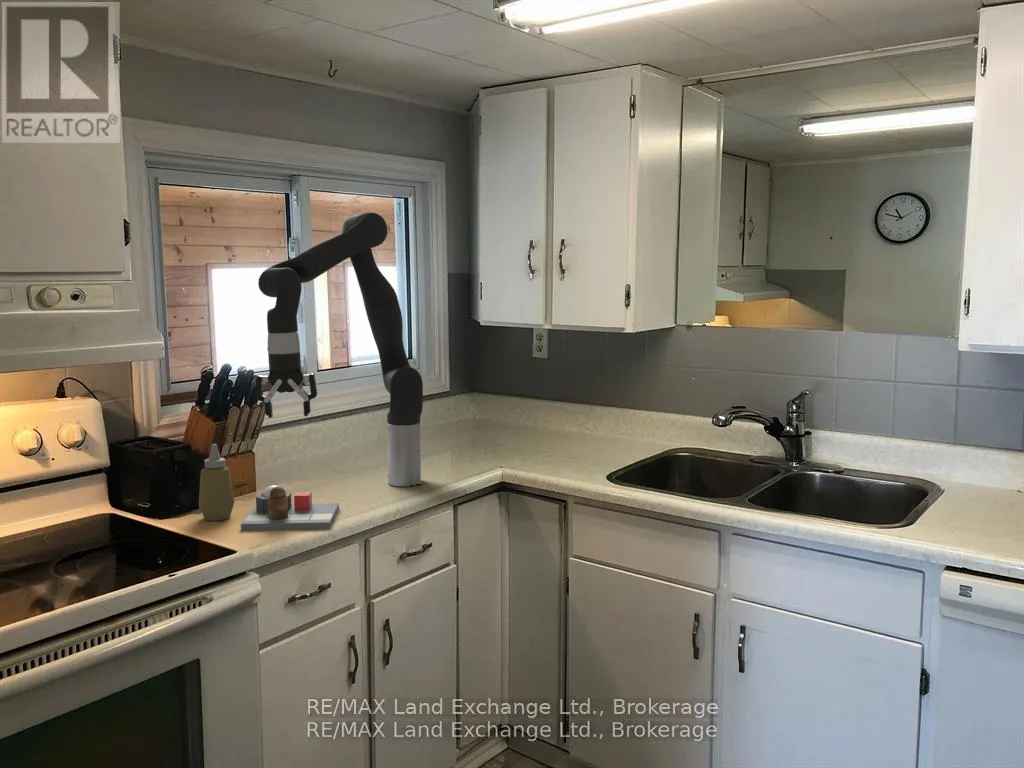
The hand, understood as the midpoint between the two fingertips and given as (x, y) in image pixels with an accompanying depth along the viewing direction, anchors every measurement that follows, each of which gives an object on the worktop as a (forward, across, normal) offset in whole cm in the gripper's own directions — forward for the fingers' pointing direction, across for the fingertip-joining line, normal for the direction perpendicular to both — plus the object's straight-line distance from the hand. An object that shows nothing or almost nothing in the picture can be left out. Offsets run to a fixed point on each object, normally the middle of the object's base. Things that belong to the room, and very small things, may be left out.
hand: (288, 416), depth 199 cm
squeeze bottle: (+23, +17, +6) cm, 29 cm away
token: (+22, +2, +12) cm, 25 cm away
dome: (+21, +4, +5) cm, 22 cm away
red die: (+22, -3, +5) cm, 23 cm away
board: (+23, -1, +9) cm, 25 cm away
